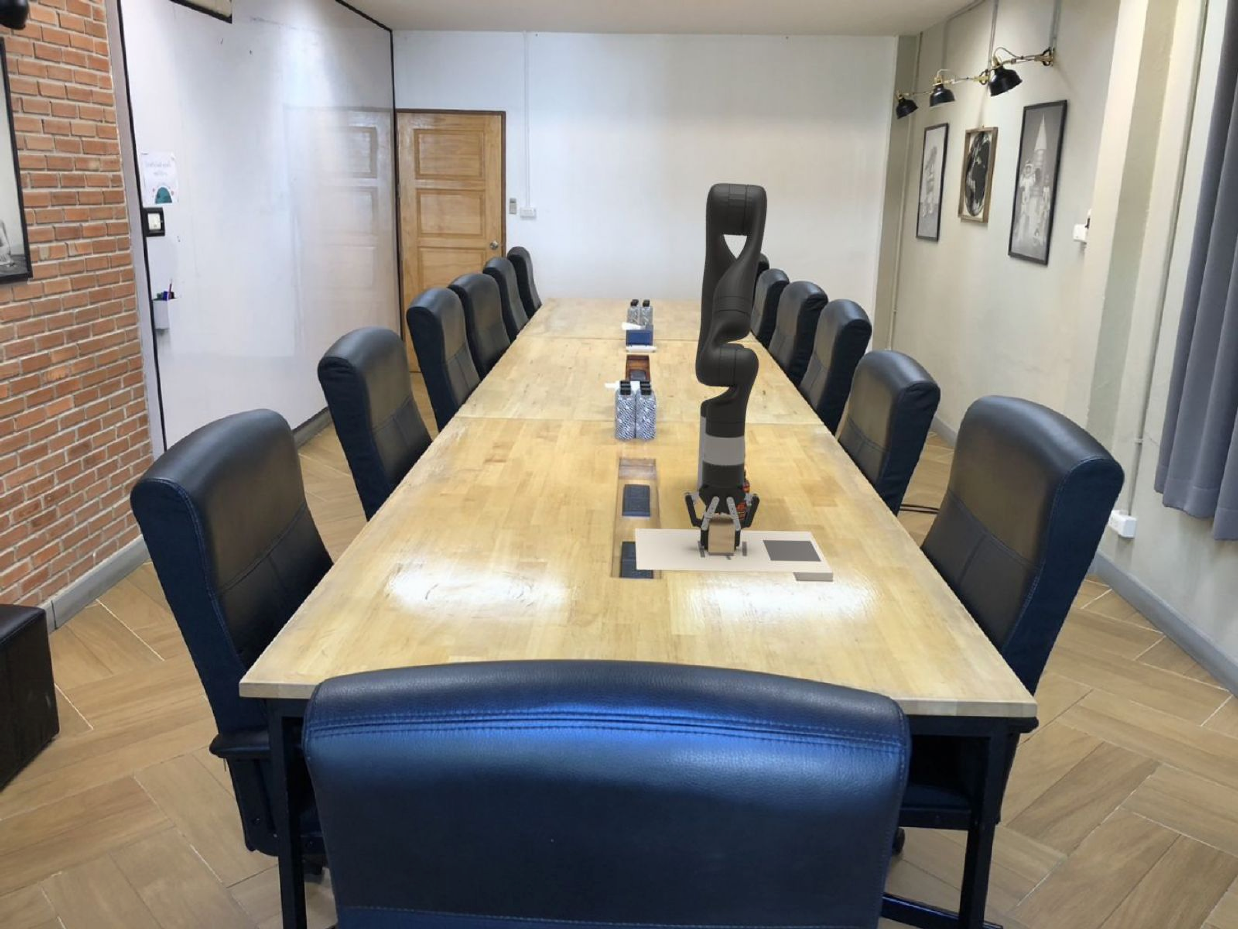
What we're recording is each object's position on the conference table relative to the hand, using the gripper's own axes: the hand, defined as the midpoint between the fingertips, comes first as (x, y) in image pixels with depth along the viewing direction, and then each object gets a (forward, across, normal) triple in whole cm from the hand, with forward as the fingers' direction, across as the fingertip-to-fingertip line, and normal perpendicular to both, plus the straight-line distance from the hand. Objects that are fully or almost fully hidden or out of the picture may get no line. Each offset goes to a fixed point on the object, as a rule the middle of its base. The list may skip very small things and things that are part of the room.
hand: (719, 547), depth 187 cm
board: (+2, -2, 0) cm, 2 cm away
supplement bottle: (+2, -4, -20) cm, 21 cm away
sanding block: (0, 0, 0) cm, 0 cm away
